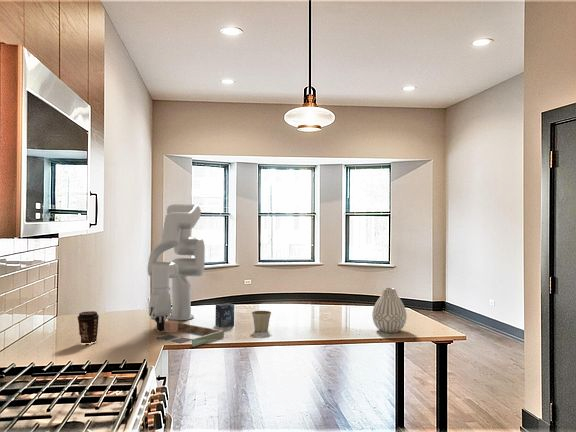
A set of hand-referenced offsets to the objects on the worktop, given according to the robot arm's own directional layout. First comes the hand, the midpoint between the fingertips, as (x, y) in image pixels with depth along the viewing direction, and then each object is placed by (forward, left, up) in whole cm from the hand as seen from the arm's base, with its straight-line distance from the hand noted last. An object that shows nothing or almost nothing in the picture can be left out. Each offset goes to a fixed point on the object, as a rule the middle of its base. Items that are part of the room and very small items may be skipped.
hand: (160, 330), depth 232 cm
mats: (+13, -4, -1) cm, 13 cm away
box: (+14, +29, -2) cm, 32 cm away
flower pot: (+35, +31, -2) cm, 47 cm away
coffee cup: (-12, -29, -1) cm, 32 cm away
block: (0, +6, -1) cm, 6 cm away
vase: (+85, +65, -2) cm, 107 cm away
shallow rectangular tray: (+12, +1, -1) cm, 12 cm away
